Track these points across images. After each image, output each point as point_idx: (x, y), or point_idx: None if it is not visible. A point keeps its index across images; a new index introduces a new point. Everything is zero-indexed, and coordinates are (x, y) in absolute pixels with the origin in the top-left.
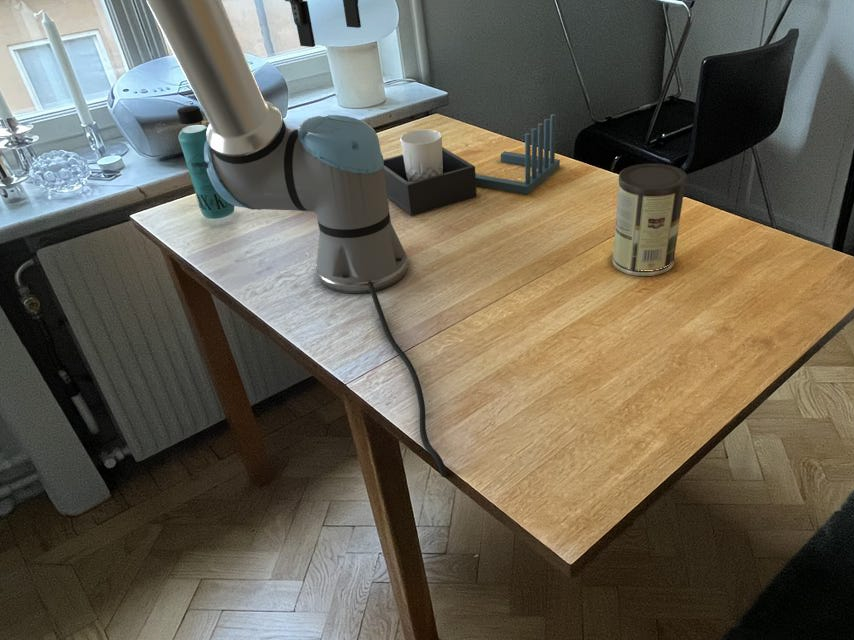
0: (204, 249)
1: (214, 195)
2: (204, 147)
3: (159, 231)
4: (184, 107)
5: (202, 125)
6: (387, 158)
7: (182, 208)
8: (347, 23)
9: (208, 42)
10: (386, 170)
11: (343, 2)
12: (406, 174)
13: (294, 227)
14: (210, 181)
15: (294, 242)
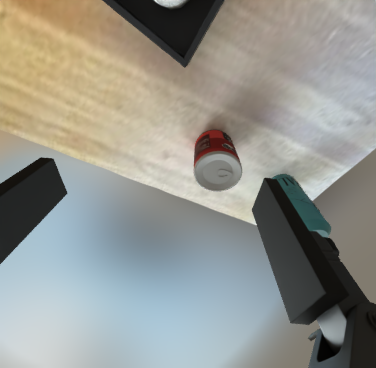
0: (336, 163)
1: (302, 188)
2: (321, 216)
3: None
4: None
5: None
6: (168, 52)
7: None
8: (61, 195)
9: None
10: (209, 24)
11: (24, 237)
12: (183, 2)
13: (292, 110)
14: (307, 196)
15: (330, 88)
